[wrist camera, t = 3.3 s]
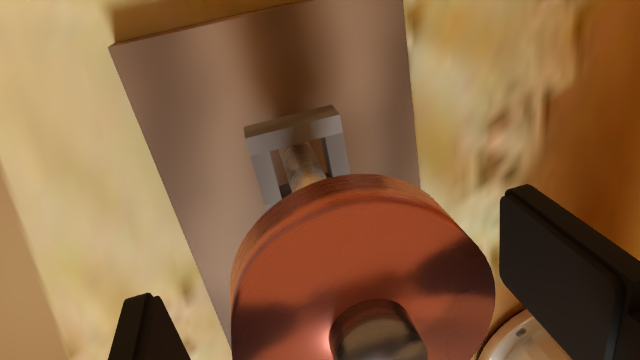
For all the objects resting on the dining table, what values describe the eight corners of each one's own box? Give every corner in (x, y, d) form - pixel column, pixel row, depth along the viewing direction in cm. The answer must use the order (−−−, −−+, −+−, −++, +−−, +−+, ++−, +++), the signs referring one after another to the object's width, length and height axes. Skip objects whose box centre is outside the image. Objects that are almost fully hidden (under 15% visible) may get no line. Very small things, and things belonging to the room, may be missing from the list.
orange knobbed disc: (339, 60, 21) (524, 201, 8) (359, 176, 24) (517, 413, 11) (209, 92, 20) (188, 298, 8) (245, 207, 23) (274, 494, 11)
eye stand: (390, -20, 22) (475, -15, 15) (421, 278, 31) (484, 375, 24) (114, 42, 21) (55, 82, 13) (231, 335, 30) (234, 455, 23)
